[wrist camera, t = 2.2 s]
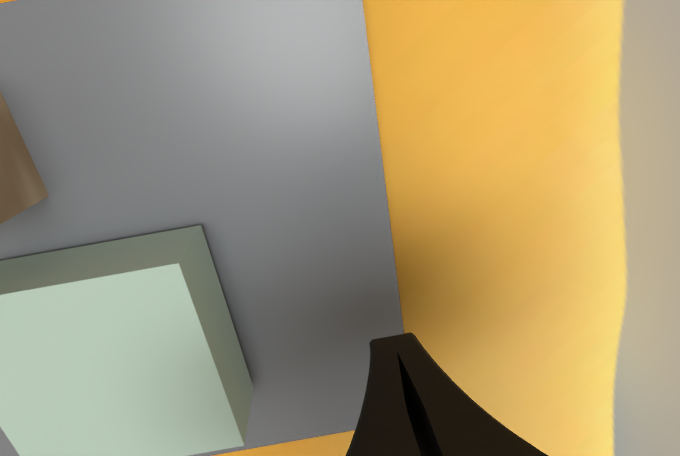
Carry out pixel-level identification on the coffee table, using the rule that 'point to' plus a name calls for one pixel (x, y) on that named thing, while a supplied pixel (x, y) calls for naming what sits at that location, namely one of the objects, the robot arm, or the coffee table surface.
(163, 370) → the pale green square block
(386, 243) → the pin board
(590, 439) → the coffee table surface
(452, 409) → the robot arm
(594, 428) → the coffee table surface
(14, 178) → the peg
